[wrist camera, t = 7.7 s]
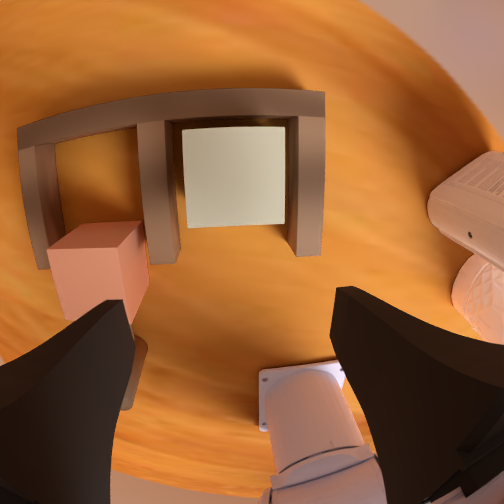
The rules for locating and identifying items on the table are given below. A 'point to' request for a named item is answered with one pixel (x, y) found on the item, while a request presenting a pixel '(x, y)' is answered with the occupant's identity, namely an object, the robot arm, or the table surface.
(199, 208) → the plain block
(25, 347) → the table surface
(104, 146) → the table surface
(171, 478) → the table surface
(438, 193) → the photo printer
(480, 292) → the white cup
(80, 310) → the tethered block
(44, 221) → the lane rack
